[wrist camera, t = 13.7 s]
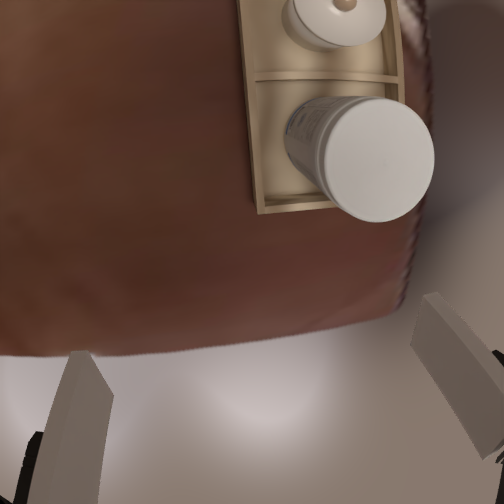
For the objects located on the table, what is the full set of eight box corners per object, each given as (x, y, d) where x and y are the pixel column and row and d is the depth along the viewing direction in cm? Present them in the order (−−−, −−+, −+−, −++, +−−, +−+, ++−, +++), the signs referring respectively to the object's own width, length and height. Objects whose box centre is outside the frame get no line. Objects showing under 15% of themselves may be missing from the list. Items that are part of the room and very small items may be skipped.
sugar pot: (281, 54, 29) (304, 40, 21) (275, -15, 25) (293, -47, 17) (356, 56, 30) (398, 48, 21) (349, -10, 26) (387, -34, 17)
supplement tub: (366, 170, 36) (437, 214, 23) (290, 186, 36) (332, 240, 23) (355, 90, 32) (432, 93, 18) (273, 102, 32) (312, 104, 19)
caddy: (253, 202, 37) (257, 214, 34) (233, -33, 24) (235, -46, 21) (386, 191, 38) (401, 202, 35) (376, -23, 25) (391, -32, 22)
